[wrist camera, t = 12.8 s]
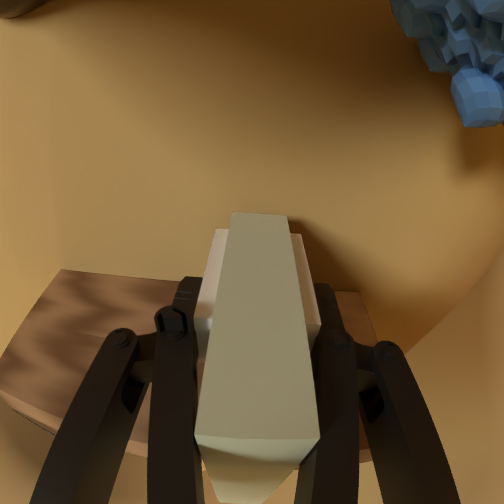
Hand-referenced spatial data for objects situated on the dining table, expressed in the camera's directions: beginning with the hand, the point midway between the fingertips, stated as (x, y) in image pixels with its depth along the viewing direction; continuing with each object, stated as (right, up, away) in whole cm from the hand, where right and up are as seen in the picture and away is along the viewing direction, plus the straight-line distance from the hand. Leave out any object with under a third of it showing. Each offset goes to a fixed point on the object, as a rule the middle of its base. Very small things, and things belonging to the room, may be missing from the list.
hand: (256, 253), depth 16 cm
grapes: (+10, +11, -4) cm, 15 cm away
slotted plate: (0, -5, +4) cm, 6 cm away
